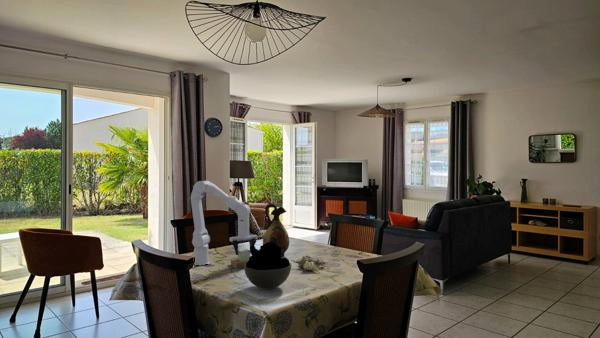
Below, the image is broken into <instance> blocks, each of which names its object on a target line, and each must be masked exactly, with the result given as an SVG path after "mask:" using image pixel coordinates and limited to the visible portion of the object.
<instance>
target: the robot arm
mask: <svg viewBox="0 0 600 338" xmlns="http://www.w3.org/2000/svg"><path fill="white" fill-rule="evenodd" d="M192 188H193V189H192V190H191V191H192V192H191V195H190V203H191V211H192V212H191V213H192V218H193V219H192V220H193V224H194V225H193V227H194V230H193V233H192V240H191V243H192V245H193V247H194V249H193V258H194V257H195V259H196V262H195V264H196V265H197V264H198V265H199V266H206V265H205V264H208V265H211V264H212V263H211V262H210V261H209V243H210V242H211V237H210V235H209V233H208V230H207V228H206V224H205V217H204V216H205V215H204V211H203V203H202V199H203V198H204V196H205V195H206V194H213V195H215V196H216V197H218V198H219V199H221V200H223V201H224V202H225V205H226V206H228V208H230V209H231V210H233V211H234V212H236V216H237V231H238V232H237V234H238V235H237V236H232V237H231V236H230V237H229V242H231V244H232V246H233V249H234V253H235V256H238V250H239V242H240V241H248V242H249V250H250V255H251V246H252V245H253V246H255V244H256V243H257V240H258V238H259V237H258V235H257V234H254V235H253V234H250V212H251V207H250V206H249V205H248V204H247V203H244V202H243V201H240V200H239V199H238V198H237V196H234V195H230V196H229V195H228V194H227V193H226V192H225V191H223V190H222V189H221V188H219V187H218V186H217V185H216V184H215V183H213V182H211V181H210V180H199V181H197V182H196V183H195V184H194V185H193V187H192Z"/></svg>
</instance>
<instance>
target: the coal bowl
mask: <svg viewBox="0 0 600 338" xmlns="http://www.w3.org/2000/svg"><path fill="white" fill-rule="evenodd" d="M259 247H260V248H259V249H258V248H256V246H255V245H254V246H253V245H252V246H251V254H250V258H249V261H248V262H247V263H246V264H245V265H244V268H243V270H244V273H245V276H246V278H247V279H248V281H249V283H251V284H252V285H253V286H255V287H257V288H260V289H262V290H272V289H275V288H278V287H280V286H281V285H283V284H284V283H285V282H286V281H287V279H288V278H289V277H290V274H291V271H292V263H291V261H290V260H289V259H288V258H287V257H286V256H284V257H281V253H280V252H281V247H280V246H277V245H275V244H273V243H270V242H268V243H265V244H264V245H263V244H262V245H260V246H259Z"/></svg>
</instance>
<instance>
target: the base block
mask: <svg viewBox="0 0 600 338" xmlns="http://www.w3.org/2000/svg"><path fill="white" fill-rule="evenodd" d="M248 261H249V260H248ZM248 261H240V260H238V257H235V258H233V257H232V258H230V265H231V266H232V268H235V269H236V270H239V269H244V265H245V264H246V263H247V262H248Z"/></svg>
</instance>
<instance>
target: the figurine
mask: <svg viewBox="0 0 600 338" xmlns="http://www.w3.org/2000/svg"><path fill="white" fill-rule="evenodd" d="M290 262H292V263H295V264H297V265H298V267H300V268H303V270H307V271H311V272H315V271H317V272H318V271H323V269H322V267H325V268H329V269H330V268H331V267H330V266H331V261H324V260H321V259H319V258H317V259H316V258H314V257H312V256H309V254H307V255H303V256H302V257H301V260H297V261H296V260H293V259H290ZM328 263H329V265H328V266H327V265H326V264H328ZM320 266H321V267H320Z"/></svg>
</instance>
